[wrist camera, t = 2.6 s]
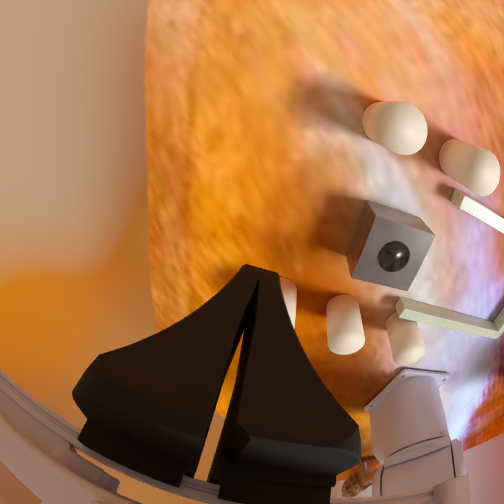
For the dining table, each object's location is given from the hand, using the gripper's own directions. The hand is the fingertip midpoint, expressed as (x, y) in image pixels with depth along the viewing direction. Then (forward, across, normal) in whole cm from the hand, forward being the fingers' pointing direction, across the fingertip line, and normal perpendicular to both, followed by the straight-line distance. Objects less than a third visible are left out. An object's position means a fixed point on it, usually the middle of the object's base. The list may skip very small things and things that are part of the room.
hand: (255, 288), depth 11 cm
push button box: (+10, -8, 0) cm, 12 cm away
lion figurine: (+10, -35, +46) cm, 58 cm away
